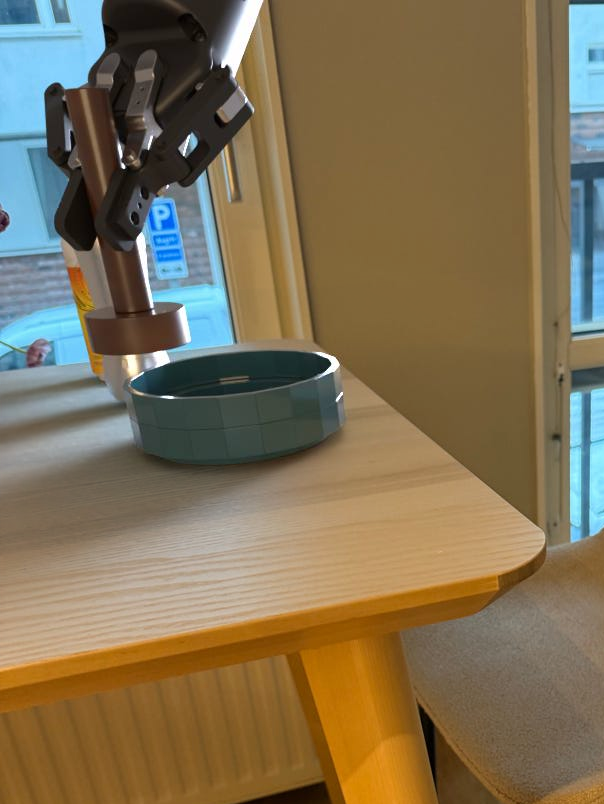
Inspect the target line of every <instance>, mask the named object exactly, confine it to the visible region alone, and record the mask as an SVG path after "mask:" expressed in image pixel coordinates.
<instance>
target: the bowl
mask: <svg viewBox="0 0 604 804" xmlns="http://www.w3.org/2000/svg"><path fill="white" fill-rule="evenodd" d="M122 389H123V393H124V397H125V401H126V402H125V405H126V409H127V414H128V418H129V421H130V422H129V423H130V427H131V431H132V435H133V439H134V444H135V446H137V447H138V448H139V449H140V450H142V451H143V452H144V453H145V454H149V455H153V456H156V457H160V458H161V459H163V460H166V461H169V462H173V463H179V464H186V465H195V466H196V465H197V466H222V465H234V464H245V463H246V464H247V463H253V462H261V461H266V460H271V459H276V458H281V457H284V456H288V455H291V454H295V453H298V452H301V451H304V450H306V449H309V448H312V447H314V446H316V445H318V444H319V443H321V442H323V441H324V440H326V439H327V438H328V437H329V436H330V435H331V434H334V433H335V432H337V431H338V430H340V429H341V428H342V426H343V425H344V424H345V422H346V420H347V416H346V410H345V409H346V408H345V401H344V393H343V383H342V376H341V368H340V363H339V361H338V360H337V359H336V357H335V356H332V355H329V354H326V353H324V352H318V351H311V350H304V349H278V348H274V349H273V348H272V349H250V350H249V349H248V350H247V349H246V350H237V351H228V352H226V351H225V352H218V353H217V352H216V353H210V354H205V355H198V356H192V357H186V358H185V357H184V358H181V359H178V360H172V361H170V362H168V363H164V364H160V365H157V366H154V367H151V368H148V369H145V370H142V371H140V372H137V373H135V374H134V375H132V376H131V377H129V378H127V379H126V380H125V381H124V384H123V387H122Z"/></svg>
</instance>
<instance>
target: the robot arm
mask: <svg viewBox="0 0 604 804" xmlns="http://www.w3.org/2000/svg"><path fill="white" fill-rule="evenodd" d="M263 2H264V0H103V1H102V3H101V11H100V17H101V18H100V19H101V25H102V29H103V30H102V31H103V36H104V50H103V52H102V53H101V55H100V56H99V58H97V60H96V61H95V62H94V63H93V64H92V66H90V68H89V71H88V74H87V82H86V83H84V84H82V85H79V86H78V87H77V88H90V87H104V88H108V89H109V94H110V99H111V103H112V108H113V113H114V118H115V123H116V128H117V132H118V137H119V142H120V147H121V152H122V157H121V162H122V164H123V165H124V166H125V168H118V169H115V170H114V173H113V175H112V178H111V180H110V183H109V185H108V188H107V190H106V193H105V195H104V198H103V200H102V203H101V205H100V208H99V210H98V213H97V215H96V218H95V221H93V216H92V212H91V208H90V203H89V199H88V194H87V190H86V186H85V181H84V177H83V173H82V168H81V164H80V159H79V155H78V151H77V146H76V142H75V137H74V133H73V129H72V124H71V120H70V115H69V111H68V107H67V102H66V98H65V93H64V90H65V89H66V88H65V87H64V86H63V84H62V83H61V82H60V81H59V82H58V81H56V82H52V83H51V84H49V85H48V86H47V87H46V89H45V90H44V92H43V101H44V118H45V119H44V120H45V135H46V153H47V157H48V158H49V160H50V161H51V162H52V163H53V164H54V165H55V166H56V167H57V168H58V169H59V170H60V171H61V172H62V173H63V174H64V175H65V176H66V177H67V179H68V181H67V184H66V186H65V188H64V191H63V193H62V196H61V199H60V201H59V203H58V207H57V208H56V210H55V213H54V215H53V216H54V217H53V228H54V230H55V232H56V233H57V235H58V236H60V238H63V239H64V240H65V241H66V242H67V243H68V244H69V245H70V246H71V247H72V248H73V249H74V250H76V251H91V250H92V248H93V246H94V243H95V241H96V238H97V234H96V231H97V233H98V234H99V235H100V236H101V237H102V238H103V239H104V240H105V241H106V242H107V243H108V244H109V245H110V246H111V247H112V248H113V249H114V250H115V251H130V250H131V249H132V247H133V244H134V242H135V241H136V239H137V238H138V237H139V235H140V234H141V232H142V233H143V230H144V227H145V224H146V223H147V218H148V217H149V214H150V212H151V209H152V206H153V203H154V201H155V199H157V198H160V197H162V196H163V195H164V194H165V193H166V192H167V191H168V188H169V185H171V184H174V183H177V184H178V185H179V187H181V188H184V189H185V188H186V189H187V188H189V187H191V186H192V185H193V184H194V183H195V182H196V181H197V180H198V179H199V178H200V176H202V174H203V173H204V172H205V171H206V169H208V167H210V165H211V164H212V163H213V161H214V160H215V159H216V158H217V157H218V156H219V155H220V153H221V152H222V151H223V150H224V149H225V148H226V146H227V145H228V144H229V143H230V142H231V141H232V140H233V138H234V137H235V136H236V135H237V134H238V133H239V132H240V130H241V129H242V128H243V127H244V126H245V124H246V123H247V122H248V121H249V120H250V119H251V118H252V117H253V115H254V112H255V108H254V106H253V105H252V103H251V102H250V100H249V99H248V97H247V94H246V93H245V91H244V89H243V88H242V86H241V85H240V83H239V82H238V80H236V78H235V77H236V74H237V72H238V69H239V67H240V63H241V61H242V58H243V55H244V53H245V51H246V47H247V45H248V42H249V40H250V36H251V33H252V31H253V28H254V26H255V24H256V21H257V18H258V15H259V12H260V10H261V7H262V4H263ZM191 134H193V136H194V137H195V139H196V146H195V147H194V148H193V149H192V150H191V151H190V153H188V155H187V156H186V157H185V153H186V149H187V146H188V143H189V139H190V137H191V136H190V135H191ZM95 229H96V230H95Z"/></svg>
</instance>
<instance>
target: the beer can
mask: <svg viewBox="0 0 604 804" xmlns="http://www.w3.org/2000/svg"><path fill="white" fill-rule="evenodd" d="M60 247H61V251H62V255H63V259H64V263H65V267H66V272H67V275H68V278H69V283H70V287H71V292H72V296H73V299H74V303H75V307H76V311H77V315H78V319H79V323H80V327H81V331H82V335H83V339H84V343H85V347H86V351H87V355H88V360H89V363H90V368H91V371H92V373H93V374H94V375H95V376H97V377H98V378H99V380H100V381H103V382H105V380H104V373H103V364H102V356H103V355H100V354H96V353H93V352H92V350H91V346H90V342H89V338H88V334H87V330H86V325H85V321H84V317H83V315H84V314H85V313H87V312H89V311H92V310H94V308H95V307H94V304H93V303H92V300H91V297H90V293H89V290H88V286H87V284H86V281H85V279H84V276H83V273H82V271H81V268H80V265H79V263H78V260H77V256H76V254H75V252H74V249H73V248H72V247H71V246H70V245H69V244H68V243H67V242H66V241H65V240H64V239H63V238H62V237H60Z"/></svg>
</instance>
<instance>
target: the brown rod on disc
mask: <svg viewBox="0 0 604 804" xmlns="http://www.w3.org/2000/svg"><path fill="white" fill-rule="evenodd" d="M64 93H65V98H66V102H67V107H68V111H69V115H70V120H71V124H72V129H73V133H74V137H75V142H76V146H77V151H78V155H79V159H80V164H81V168H82V173H83V177H84V181H85V186H86V190H87V194H88V199H89V203H90V208H91V212H92V216H93V221H95V218H96V215H97V213H98V210H99V208H100V205H101V203H102V200H103V198H104V195H105V193H106V190H107V188H108V185H109V183H110V180H111V178H112V175H113V173H114V170H115V169H118V168H125V166H124V165H123V164H122V162H121V157H122V152H121V147H120V142H119V137H118V132H117V128H116V123H115V118H114V113H113V108H112V103H111V99H110V94H109V89H108V88H104V87H90V88H78V87H72V88H71V87H70V88H65V90H64ZM95 230H96V229H95ZM96 234H97V238H98V243H99V247H100V252H101V256H102V260H103V265H104V269H105V274H106V278H107V282H108V287H109V291H110V295H111V300H112V304H113V306H110V307H105V308H100V309H96V310H92V311H89V312H87V313H85V314H84V315H83V317H84V321H85V325H86V330H87V334H88V338H89V342H90V346H91V350H92V352H93V353H96V354H100V355H110V356H123V355H138V354H147V353H155V352H161V351H166V352H167V351H170V350H173V349H177V348H180V347H183V346H185V345H188V344H189V343H190V342H191V340H192V339H191V334H190V333H191V332H190V328H189V324H188V317H187V314H186V313H187V312H186V308H185V305H184V304H182V303H180V302H176V301H175V302H172V301H153V296H152V292H151V287H150V283H149V276H148V277H147V272H146V267H145V262H144V258H143V253H142V248H141V243H140V238H139V237H138V238H137V239H136V241H135V242H134V244H133V247H132V249H131V250H130V251H115V250H114V249H113V248H112V247H111V246H110V245H109V244H108V243H107V242H106V241H105V240H104V239H103V238H102V237H101V236H100V235H99V234H98V233H97V231H96Z"/></svg>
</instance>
